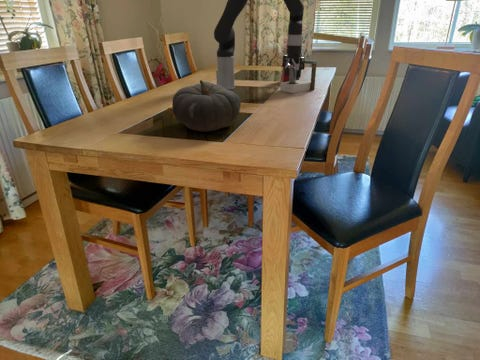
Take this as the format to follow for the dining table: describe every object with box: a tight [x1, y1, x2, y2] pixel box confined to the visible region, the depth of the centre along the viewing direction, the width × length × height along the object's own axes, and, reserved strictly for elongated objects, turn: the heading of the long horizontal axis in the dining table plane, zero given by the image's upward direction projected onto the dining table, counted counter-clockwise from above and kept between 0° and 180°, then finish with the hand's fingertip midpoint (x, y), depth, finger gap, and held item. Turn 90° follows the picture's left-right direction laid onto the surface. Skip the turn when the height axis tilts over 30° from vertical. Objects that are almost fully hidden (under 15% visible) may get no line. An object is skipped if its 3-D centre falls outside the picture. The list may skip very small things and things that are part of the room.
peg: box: [289, 67, 296, 84], centre depth 180 cm, size 3×3×12 cm
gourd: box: [171, 79, 242, 133], centre depth 124 cm, size 25×25×17 cm
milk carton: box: [279, 49, 295, 84], centre depth 199 cm, size 9×9×20 cm
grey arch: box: [296, 58, 318, 92], centre depth 183 cm, size 4×14×15 cm, turn 36°
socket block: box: [280, 79, 311, 94], centre depth 183 cm, size 13×10×4 cm
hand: (292, 76), depth 179 cm, fingers open, 8 cm apart
